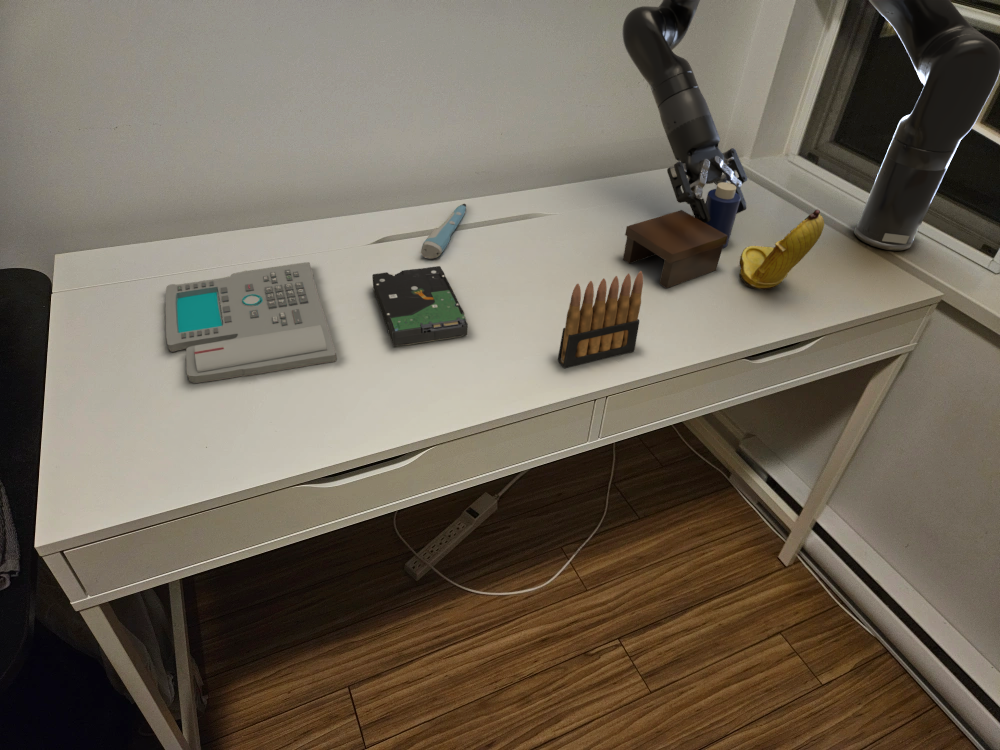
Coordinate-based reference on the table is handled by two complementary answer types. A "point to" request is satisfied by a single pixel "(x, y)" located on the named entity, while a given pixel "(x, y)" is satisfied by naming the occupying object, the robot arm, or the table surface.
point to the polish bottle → (723, 207)
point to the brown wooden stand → (676, 246)
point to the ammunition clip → (601, 322)
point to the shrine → (779, 255)
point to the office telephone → (248, 323)
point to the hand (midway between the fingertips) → (723, 217)
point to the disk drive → (419, 306)
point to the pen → (442, 234)
